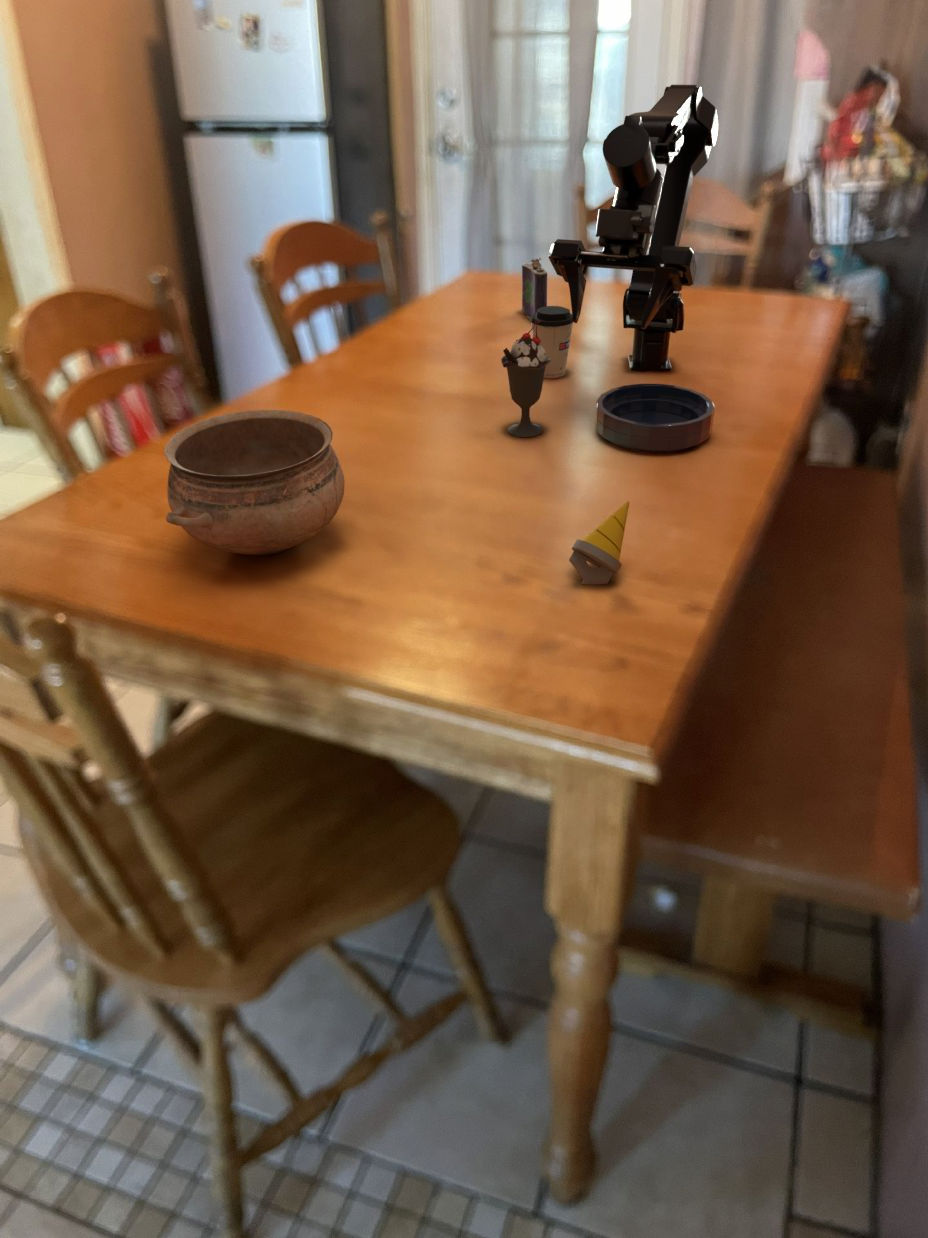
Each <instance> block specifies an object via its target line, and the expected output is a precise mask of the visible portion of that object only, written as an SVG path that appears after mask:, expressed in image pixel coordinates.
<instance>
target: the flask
mask: <svg viewBox="0 0 928 1238" xmlns="http://www.w3.org/2000/svg"><path fill="white" fill-rule="evenodd" d="M542 259H543V258H541V257H539V258H531V259H530V261H531V263H530V262H529V263H528V262H527V263H523V264H521V282H522V283H521V313H522V314H523V315H525V316H526V318H528V319H531V316H532V315H533V314H534V313H537V310H538V309H539V308H541V307H545V306H548V272H547V271H546V270H545V269H544V268H543V266H542V264H541V263H540V261H542Z"/></svg>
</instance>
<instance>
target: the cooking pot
mask: <svg viewBox="0 0 928 1238" xmlns="http://www.w3.org/2000/svg"><path fill="white" fill-rule="evenodd" d="M333 433H334V432H333V430H332V428H331V426H330V425H329V424H328V423H327V422H325V420H322V419H321V418H319V417H317V416H314V415H312V414H308V413H304V412H300V411H294V410H286V409H285V410H284V409H254V410H252V409H251V410H244V411H243V410H241V411H236V412H235V411H234V412H230V413H224V414H220V415H217V416H213V417H210V418H207V419H203V420H201V421H198V422H195V423H192V424H191V425H187V426H186V427H185V428H183V429H180V430H179V431H177V432H176V433H174V435H172V436H171V437H170V439H169V440H168V441H167V443H166V445H165V447H164V456H165V458H166V460H167V461H168V462H169V464H170V465H169V469H168V475H167V476H168V477H167V494H166V495H167V503H168V506H169V509H170V511H171V512H168V513H167V514H166V516H165V521H166V522H167V523H169V524H171V525H174V526H177V527H181V528H182V529H183V530H184V531H185V532H186V533H187V534H188V535H189V536H190V537H191V538H193V539H195V540H196V541H198V542H200V543H201V544H203V545H205V546H207V547H210V548H212V549H216V550H219V551H223V552H228V553H232V554H237V555H238V554H240V555H246V556H252V557H267V556H273V555H274V556H275V555H277V554H280V553H283V552H285V551H288V550H289V549H291V548H293V547H296V546H298V545H300V544H302V543H304V542H306V541H308V540H310V539H311V538H313V537H314V536H316V535H317V534H319V533H320V532H321V531H322V530H324V529H325V528H326V527H327V526H328V525H329V523H330V522H332V520H333V519H334V518H335V516H336V515H337V513H338V511H339V508H340V506H341V505H342V501H343V498H344V495H345V475H344V471H343V468H342V466H341V462H340V461H339V458H338V456H337V454H336V451H335V449H334V448H333V445H332V444H331V443H332V440H333Z"/></svg>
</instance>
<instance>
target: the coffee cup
mask: <svg viewBox="0 0 928 1238" xmlns="http://www.w3.org/2000/svg"><path fill="white" fill-rule="evenodd" d="M536 320H540V322H539V323H538V325H537V322H536V324H535V321H536ZM529 321H530V323H531V329H532V328H533V326H534V324H535V326H534V328H533V329H532V330H531V333H532V338H533V337H536V326H537V336H538V337H539V338H540V339H541V342H540V344H539V345H541V346H542V347H543V348H544V350H545V352H546V356H547V357H548V358H550V359H551V361H550V362H549V363H548V364H547V365H546V367H545V373H544V379H556V378H561V377H564V376H565V375H566V369H567V364H568V357H569V350H570V343H571V338H572V331H573V324H574V321H573V317H572V312H571V310H570V308H567V307H563V306H560V305H547V306H545V307H541V308H539V309H538V310H537V313H534V314H533V315H532V316H531V318H529Z"/></svg>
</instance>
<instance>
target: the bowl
mask: <svg viewBox="0 0 928 1238" xmlns="http://www.w3.org/2000/svg"><path fill="white" fill-rule="evenodd" d="M715 411H716V407H715V404H714V402H713V400H712V399H711V398H709V397H708V396H707V395H705V394H704V393H701V392H700V391H697V390H694V389H693V388H687V387H683V386H679V385H675V384H667V383H666V384H665V383H636V384H635V383H633V384H628V385H626V384H625V385H622V386H618V387H614V388H611V389H609V390H607V391H605V392H603V393H601V394H600V395H599V397H598V398H597V399H596V406H595V420H594V421H595V431H596V432H597V433H598V434H599V435H600V436H601V437H602V438H603V439H605V440H607V441H609V442H610V443H612V444H613V445H615V446H618V447H620V448H623V449H627V450H631V451H635V452H642V453H651V454H652V453H653V454H657V453H659V454H660V453H661V454H662V453H664V454H665V453H673V452H680V451H685V450H688V449H690V448H692V447H695V446H698V445H700V444H701V443H703V442H705V441H706V440H707V439H709V438H710V436H711V434H712V432H713V426H714V417H715Z"/></svg>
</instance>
